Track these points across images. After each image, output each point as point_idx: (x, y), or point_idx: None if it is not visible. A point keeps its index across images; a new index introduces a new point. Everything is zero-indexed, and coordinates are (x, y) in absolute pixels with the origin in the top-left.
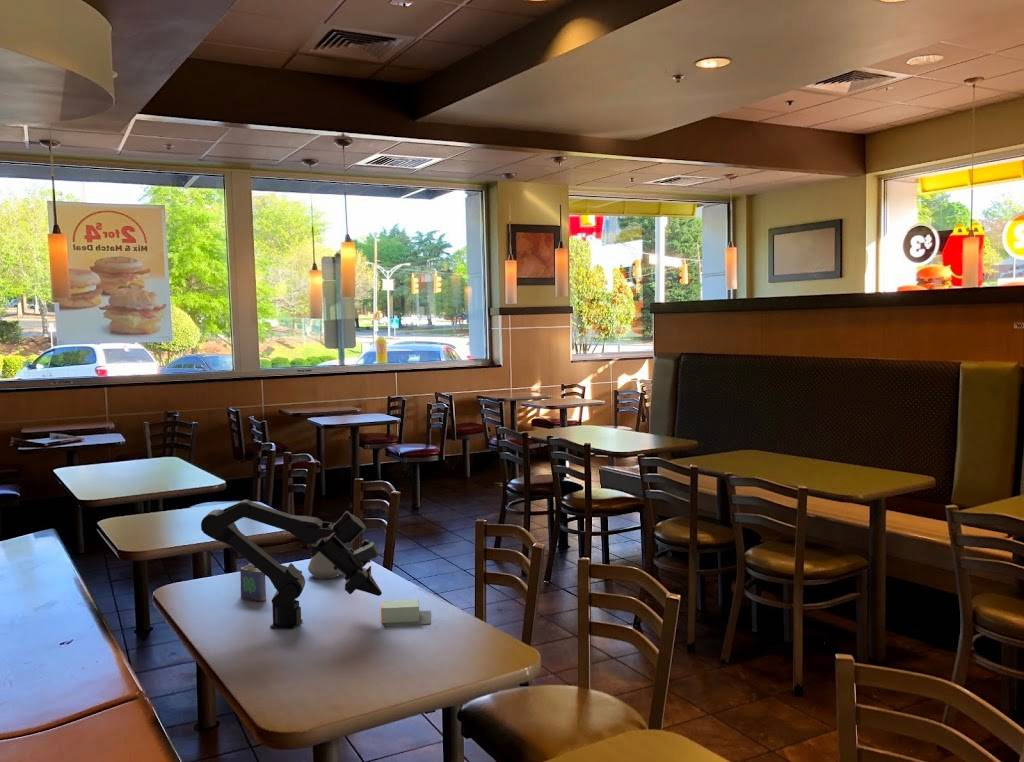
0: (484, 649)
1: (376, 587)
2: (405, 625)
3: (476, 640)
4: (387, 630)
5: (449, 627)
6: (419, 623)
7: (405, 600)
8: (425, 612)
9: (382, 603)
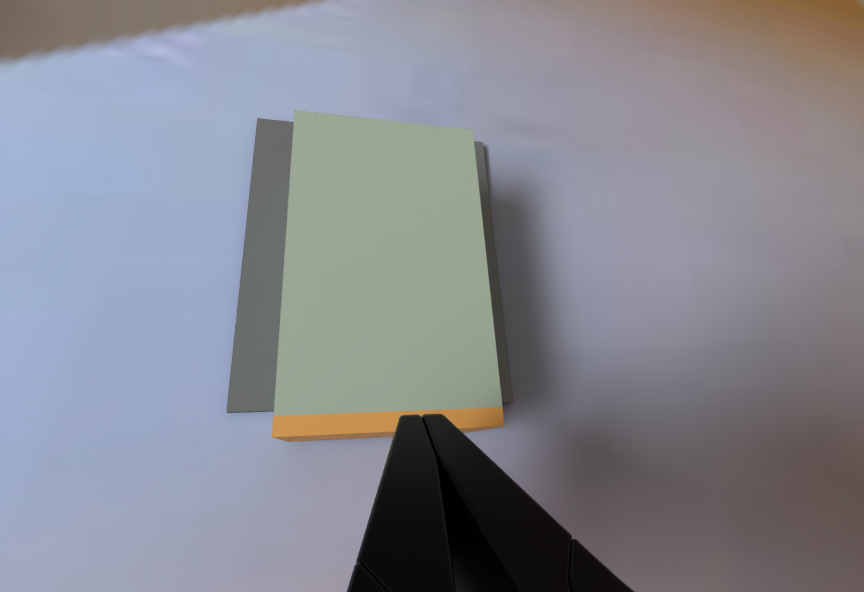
0: (729, 17)
1: (522, 494)
2: (496, 272)
3: (657, 19)
4: (571, 380)
5: (522, 76)
6: (484, 194)
7: (305, 210)
8: (289, 147)
9: (360, 425)
